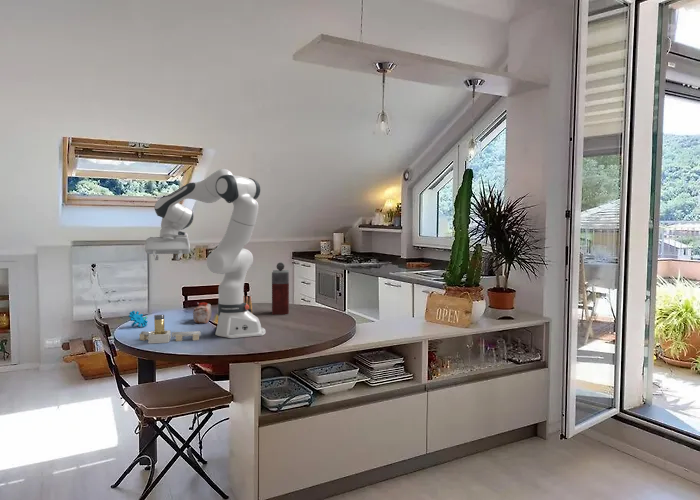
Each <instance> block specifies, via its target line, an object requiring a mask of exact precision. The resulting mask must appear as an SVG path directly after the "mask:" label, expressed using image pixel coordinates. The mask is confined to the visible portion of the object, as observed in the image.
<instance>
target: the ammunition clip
mask: <svg viewBox="0 0 700 500" xmlns="http://www.w3.org/2000/svg"><path fill="white" fill-rule="evenodd" d="M245 297H246V298H245ZM243 302H244V303H247V304H248V305H249V308H248V311H249V312H251V313H252V314H253V304H252V302H253V301H252V296H251V295H250V296H249V297H248V295H246V296H245V295H243Z"/></svg>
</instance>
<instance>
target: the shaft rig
mask: <svg viewBox="0 0 700 500" xmlns="http://www.w3.org/2000/svg"><path fill="white" fill-rule="evenodd" d="M149 332H150V334H149V335H148V339H147V341H148V344H168V343H169V342H170V340H171V338H175V342H182V341H183V337H192V341H199V340H200V337H201V336H202V332H201V331H200V330H199V331H197V330H195V331H172V332H171V330H165V334H156V335H155V330H151V331H149Z"/></svg>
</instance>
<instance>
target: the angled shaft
mask: <svg viewBox="0 0 700 500" xmlns="http://www.w3.org/2000/svg"><path fill="white" fill-rule="evenodd" d="M150 332H151V331H145V330H142V331H141V332H140V334H139V341H148V335H149V334H150Z"/></svg>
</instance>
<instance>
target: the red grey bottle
mask: <svg viewBox="0 0 700 500" xmlns="http://www.w3.org/2000/svg"><path fill="white" fill-rule="evenodd" d="M285 314H290V270H288V269H285V264H284V262H281V261H280V262H278V263H277V264H276V269H274V270H272V272H271V315H275V316H276V315H278V316H279V315H281V316H282V315H285Z"/></svg>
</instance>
